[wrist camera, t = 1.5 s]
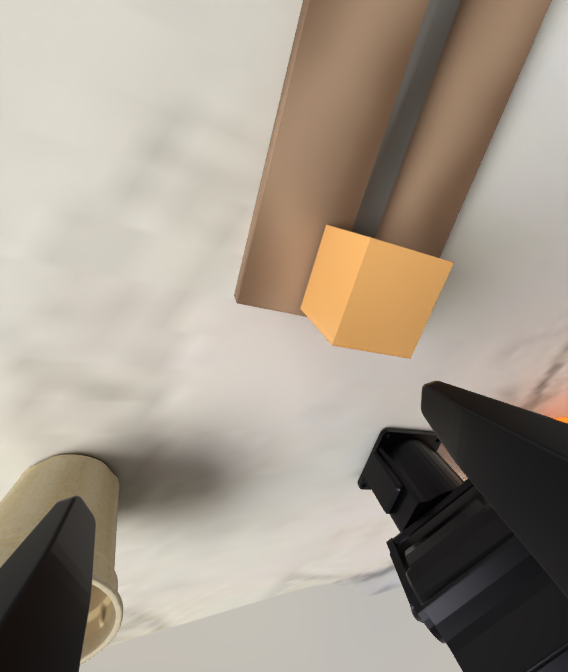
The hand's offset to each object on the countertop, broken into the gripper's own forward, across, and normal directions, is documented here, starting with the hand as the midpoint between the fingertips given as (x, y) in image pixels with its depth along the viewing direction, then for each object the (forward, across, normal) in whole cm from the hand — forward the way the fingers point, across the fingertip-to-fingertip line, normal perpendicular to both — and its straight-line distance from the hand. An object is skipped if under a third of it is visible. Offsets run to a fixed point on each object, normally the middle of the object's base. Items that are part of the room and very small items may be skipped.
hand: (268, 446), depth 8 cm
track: (+13, -11, -7) cm, 19 cm away
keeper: (+11, -7, 0) cm, 14 cm away
